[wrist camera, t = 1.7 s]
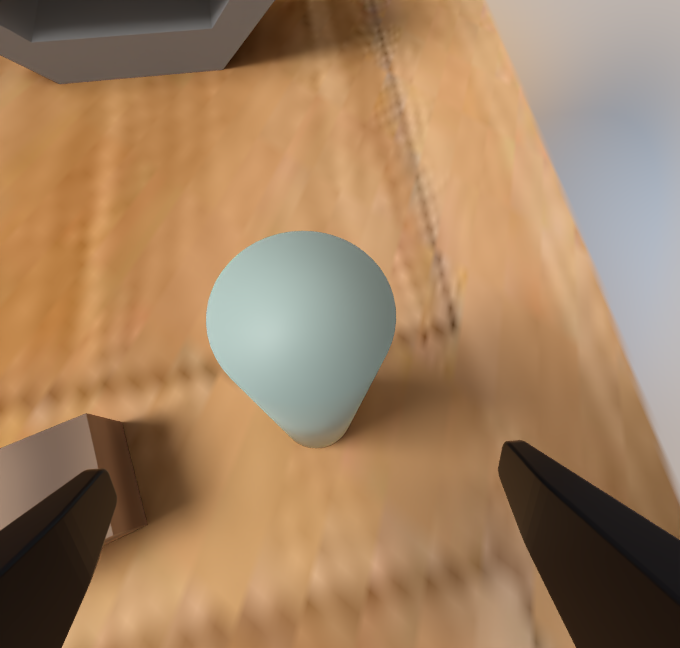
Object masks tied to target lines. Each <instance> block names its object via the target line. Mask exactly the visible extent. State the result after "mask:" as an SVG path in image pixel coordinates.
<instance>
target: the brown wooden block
mask: <svg viewBox="0 0 680 648" xmlns="http://www.w3.org/2000/svg"><path fill="white" fill-rule="evenodd" d="M99 468H103V469H106V470H107V471H108V472H109V474H110V477H111V480H112V483H113V485H114V488H115V491H116V494H117V504H116V508H115V511H114V514H113V517H112V520H111V523H110V526H109V529H108V532H107V535H106V538H105V541H104V544H103V546H104V545H106V544H108V543H110V542H112V541H114V540H116V539H119V538H121V537H123V536H125V535H127V534H129V533H131V532H133V531H135V530H138V529H140V528H142V527H144V526H146V525H147V521H146V517H145V513H144V509H143V505H142V501H141V497H140V493H139V489H138V485H137V481H136V477H135V473H134V469H133V465H132V461H131V457H130V453H129V449H128V446H127V442H126V438H125V434H124V430H123V426H122V422H120V421H115V420H111V419H107V418H103V417H99V416H95V415H91V414H87V413H86V414H83V415H81V416H78V417H76V418H73V419H71V420H68V421H66V422H64V423H61V424H59V425H56V426H54V427H51V428H49V429H46V430H44V431H41V432H39V433H37V434H34V435H32V436H29V437H27V438H24V439H22V440H19V441H17V442H15V443H12V444H10V445H7V446H5V447H2V448H0V530H1V529H3V528H4V527H6V526H7V525H8V524H10V523H11V522H13V521H14V520H15V519H17V518H18V517H20V516H21V515H22V514H24V513H25V512H27V511H28V510H29V509H31V508H32V507H34V506H35V505H36V504H38V503H39V502H40V501H42V500H43V499H45V498H46V497H47V496H49V495H50V494H52V493H53V492H54V491H56V490H57V489H59V488H60V487H61V486H63V485H64V484H66V483H67V482H68V481H70V480H71V479H73V478H74V477H75V476H77V475H78V474H80V473H81V472H83V471H84V470H88V469H99Z"/></svg>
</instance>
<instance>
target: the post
mask: <svg viewBox="0 0 680 648" xmlns="http://www.w3.org/2000/svg"><path fill="white" fill-rule="evenodd" d="M395 324H396V307H395V302H394V297H393V293H392V290H391V287H390V285H389V283H388V281H387V279H386V277H385V275H384V274H383V272H382V270H381V269H380V267H379V266H378V265H377V264H376V263H375V262H374V260H373V259H372V258H371V257H369V256H368V255H367V254H366V253H365V252H364V251H362V250H361V249H360V248H358V247H357V246H355V245H353V244H352V243H350V242H348V241H346V240H344V239H341V238H339V237H336V236H333V235H329V234H326V233H320V232H314V231H294V232H286V233H280V234H277V235H273V236H270V237H267V238H265V239H262V240H260V241H258V242H256V243H254V244H252V245H251V246H249V247H247V248H246V249H244V250H243V251H242V252H240V253H239V254H238V255H237V256H236V257H235V258H234V259H232V260H231V261H230V262H229V264H228V265H227V266H226V267H225V268H224V270H223V271H222V272H221V274H220V276H219V277H218V279H217V280H216V282H215V285H214V287H213V289H212V291H211V294H210V298H209V301H208V307H207V313H206V326H207V334H208V339H209V342H210V346H211V349H212V351H213V353H214V355H215V358H216V359H217V361H218V363H219V364H220V366H221V367H222V369H223V370H224V371H225V372H226V373H227V375H228V376H229V377H230V378H231V379H232V380H233V381H234V382H235V383H236V384H237V385H238V386H239V387H240V388H241V389H242V390H243V391H244V392H245V393H246V394H247V395H248V396H249V397H250V398H251V399H252V400H253V401H254V402H255V403H256V404H257V405H258V406H259V407H260V408H261V409H262V410H263V411H264V412H265V413H266V414H267V415H268V416H269V417H270V418H271V419H272V420H273V421H275V422H276V423H277V424H278V425H279V426H280V427H281V428H282V429H283V430H284V431H285V432H286V433H287V434H288V435H289V436H290V437H291V438H292V439H293V440H294V441H295V442H297V443H298V444H300V445H302V446H305V447H309V448H323V447H327V446H329V445H332V444H333V443H335V442H337V441H338V440H339V439H340V438H341V437H342V436H343V435H344V434H345V432H346V431H347V429H348V427H349V425H350V423H351V421H352V420H353V418H354V416H355V414H356V412H357V410H358V408H359V406H360V404H361V402H362V401H363V399H364V397H365V395H366V393H367V391H368V389H369V387H370V385H371V383H372V381H373V380H374V378H375V376H376V374H377V372H378V370H379V368H380V366H381V364H382V362H383V361H384V359H385V357H386V355H387V353H388V350H389V348H390V346H391V343H392V340H393V336H394V332H395Z"/></svg>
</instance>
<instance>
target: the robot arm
mask: <svg viewBox="0 0 680 648" xmlns="http://www.w3.org/2000/svg"><path fill="white" fill-rule="evenodd" d="M498 472H499V477H500V480H501V483H502V485H503V488H504V491H505V493H506V496H507V499H508V501H509V504H510V507H511V509H512V512H513V514H514V517H515V520H516V522H517V525H518V528H519V530H520V533H521V535H522V538H523V540H524V543H525V545H526V547H527V549H528V551H529V553H530V555H531V558H532V560H533V562H534V564H535V566H536V568H537V570H538V572H539V574H540V576H541V578H542V580H543V582H544V584H545V586H546V588H547V590H548V592H549V594H550V596H551V598H552V600H553V602H554V604H555V606H556V608H557V610H558V612H559V614H560V616H561V618H562V620H563V622H564V624H565V626H566V628H567V630H568V632H569V634H570V636H571V638H572V640H573V642H574V644H575V646H576V648H680V540H679V539H677V538H676V537H674V536H673V535H671V534H669V533H668V532H666V531H665V530H663V529H662V528H660V527H658V526H657V525H655V524H654V523H652V522H651V521H649V520H647V519H646V518H644V517H643V516H641V515H640V514H638V513H636V512H635V511H633V510H632V509H630V508H629V507H627V506H625V505H624V504H622V503H621V502H619V501H618V500H616V499H614V498H613V497H611V496H610V495H608V494H607V493H605V492H603V491H602V490H600V489H599V488H597V487H596V486H594V485H592V484H591V483H589V482H588V481H586V480H585V479H583V478H581V477H580V476H578V475H577V474H575V473H574V472H572V471H570V470H569V469H567V468H566V467H564V466H563V465H561V464H559V463H558V462H556V461H555V460H553V459H552V458H550V457H548V456H547V455H545V454H544V453H542V452H541V451H539V450H537V449H536V448H534V447H533V446H531V445H530V444H528V443H526V442H525V441H522V440H516V441H506V442H505V443H504V444H503V447H502V452H501V457H500V461H499V466H498ZM116 504H117V494H116V491H115V488H114V485H113V483H112V480H111V477H110V474H109V472H108V471H107V470H106V469H103V468H99V469H88V470H84V471H83V472H81V473H80V474H78V475H77V476H75V477H74V478H73V479H71V480H70V481H68V482H67V483H66V484H64V485H63V486H61V487H60V488H59V489H57V490H56V491H54V492H53V493H52V494H50V495H49V496H47V497H46V498H45V499H43V500H42V501H40V502H39V503H38V504H36V505H35V506H34V507H32V508H31V509H29V510H28V511H27V512H25V513H24V514H22V515H21V516H20V517H18V518H17V519H15V520H14V521H13V522H11V523H10V524H8V525H7V526H6V527H4V528H3V529H1V530H0V648H62V646H63V644H64V641H65V639H66V637H67V634H68V632H69V630H70V628H71V625H72V623H73V621H74V619H75V616H76V614H77V612H78V609H79V607H80V605H81V603H82V600H83V598H84V596H85V594H86V591H87V589H88V586H89V584H90V582H91V579H92V577H93V574H94V571H95V568H96V565H97V562H98V559H99V556H100V553H101V550H102V547H103V544H104V541H105V538H106V535H107V532H108V529H109V526H110V523H111V520H112V517H113V514H114V511H115V508H116Z"/></svg>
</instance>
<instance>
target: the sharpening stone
mask: <svg viewBox="0 0 680 648" xmlns="http://www.w3.org/2000/svg"><path fill="white" fill-rule="evenodd" d="M274 1H275V0H0V55H1V56H3V57H5V58H7V59H9V60H11V61H13V62H15V63H17V64H19V65H22V66H24V67H26V68H28V69H30V70H32V71H34V72H36V73H38V74H40V75H42V76H44V77H46V78H48V79H50V80H52V81H54V82H56V83H59V84H66V83H78V82H89V81H101V80H112V79H123V78H135V77H146V76H158V75H169V74H180V73H192V72H203V71H215V70H223V69H224V67H225V66H226V65H227V63H228V62H229V61H230V59H231V58H232V57H233V55H234V54H235V53H236V51H237V50H238V49H239V47H240V46H241V45H242V43H243V42H244V41H245V39H246V38H247V37H248V35H249V34H250V33H251V31H252V30H253V29H254V27H255V26H256V25H257V23H258V22H259V21H260V19H261V18H262V17H263V15H264V14H265V13H266V11H267V10H268V9H269V7H270V6H271V5H272V3H273V2H274Z"/></svg>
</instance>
